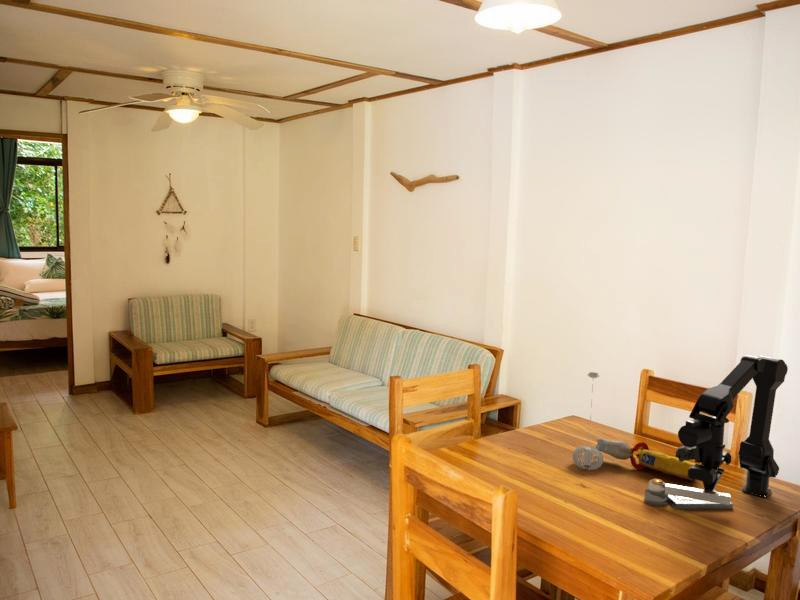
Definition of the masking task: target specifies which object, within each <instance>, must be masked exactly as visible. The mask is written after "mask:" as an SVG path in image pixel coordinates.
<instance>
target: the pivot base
mask: <svg viewBox="0 0 800 600" xmlns="http://www.w3.org/2000/svg"><path fill="white" fill-rule="evenodd" d="M643 501H644V502H645V503H646V504H647V505H649V506H653V507H659V508H663V507H667V506H668V504H669V502H668V494H664V495H656V494H652V493H650V492H649V491H648V488H646V489H645V490H644V499H643Z"/></svg>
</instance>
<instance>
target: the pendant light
mask: <svg viewBox="0 0 800 600" xmlns="http://www.w3.org/2000/svg"><path fill="white" fill-rule="evenodd" d="M587 377H589V378H592V380H594V379H597V378H600V375H599V373H597V372H593V371H592V372H589V373H588V374H587ZM593 386H594V385H592V388H591V389H592V390H591V392H594V389H593V388H594V387H593ZM592 403H593V400H591V403H590V404H591V405H590V407H592V406H593V404H592ZM591 418H592V415H590V417H589V422H591ZM590 432H591V429H589V432H588V433H589V434H588V437H590ZM571 456H572V457H571V458H572V461H573V463H574V464H575V466H576V467H578V468H579V469H582V470H588V471H589V470H590V471H593V470H594V471H595V470H597V469H599V468H601V467H602V465H603V464H604V456H603V452H602V451H599V450H598V449H596V448H595V447H594V446H590V444H588V446H587V445H581V446H578V447H575V449H574V450H573V452H572V455H571ZM592 460H593V461H592ZM587 466H589V467H587Z"/></svg>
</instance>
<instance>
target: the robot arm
mask: <svg viewBox="0 0 800 600" xmlns="http://www.w3.org/2000/svg"><path fill="white" fill-rule="evenodd" d="M788 368H789V367H788V364H787V363H786V362H785V361H784V360H783V359H781V358H775V357H771V356H764V355H758V356H755V355H748V354H746V355H743V356H742V357H741V358H740V361H739V363H738V364H737V365H736V366H735V367H734V368H733V369H732V370H731V371H730V373H729V374H727V375H726V377H724V379H723V380H722V381H721V382H720V383H719V384H718V385H716V386H712V387H709V388H708V389H706V390H705V391H703V392H702V393H701V394H700V395H699V396H698V397H697V399H696V402H695V403H694V406H693V408H692V409H691V412H690V414H689V416H688V417H689V418H690V420H688V419H687V420H686V421H685V425H683V426H680V428H679V430H678V431H677V437H678V440H679V442H680V443H681V444H682V446H681V445H680V446H679V447H678V448H677V449H675V454H674V455H675V456H674V457H676V458H678V459H679V461H680V462H683V461H694V463H695V464H694V465H693V466H692V467H690V468H689V469H688V476H687V477H688V478H691V479H694V480H697V481H699V482H702V484H703V490H709V491H713V490H715V488H716V487H717V484H718V483H719V481H720V479H721V477H722V476H723V474H724V473H725V469H724V468H720V466H721V465H722V464H724V463H725V465H726V466H727V465H728V466H729V465H730V464H731V463H732V455H731V454H730V453H729V452H728V451H725V450H724V449H725V447H726V443H725V442H724V437H725V424H727V423H729V422H730V420H729V418H727V416H728V415H729V414H730V413H731V411H732V409H733V408H734V405H735V404H734V400H735V398H736V397H737V396H738V395H739V394H740V393H741V391H742V390H744V388H745V387H746V386H747V385H748V384H749V383H750V382H751V381H752V380H753V383H754V384H755V388H756V389H755V395H754V401H753V407H752V415H751V421H750V429H749V435H748V436H747V438H746V439H745V440H744V441H743V440H742V441H741V442H740V443H739V450H738V461H739V467H740V469H744V470H747V471H746V479H745V480H746V481H745V485H744V486H743V487H742V489H741V492H742V491H744V492H743V493H746V492H748V493H747V494H749V493H753V494H757V495H761V496H764V495H765V496H766V497H767V496H769V495H770V494H771V493H772V489H770V488H769V485H770V478H776V477H777V476H778V474H779V471H780V467H779V465H778V463H777V461H776V459H774V454H775V453H774V451H775V450H774V447H773V445H772V444H771V441H770V435H771V434H770V433H771V432H770V431H771V427H772V420H773V414H774V407H775V406H774V405H775V399H776V394H777V390H778V388H780V386H781V385H782V384H783V383H784V382H785V379H786V376H787V373H788ZM770 492H771V493H770ZM769 493H770V494H769ZM753 494H752V495H753ZM768 494H769V495H768ZM757 495H756V496H757ZM761 496H760V497H761ZM767 498H768V497H767Z"/></svg>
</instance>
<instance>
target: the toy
mask: <svg viewBox="0 0 800 600" xmlns="http://www.w3.org/2000/svg"><path fill="white" fill-rule="evenodd" d="M596 442H597V444H596V445H595V447H594V448H596V449H598V450H599V451H600V452H601V453H604V454H607V455H609V456H611V457H612V458H614V459H616V460H621V461H623V460H624V461H626V460H628V459H630V463H631V466H632V467H633V468H634V469H635V470H637V471H641V470H643V469H644V468H645V467H646V468H650V469H651V470H656V471H659V472H662V473H666V474H667V475H672V476H676V477H678V478H681V479H686V480H687V479H688V480H689V481H691V482H692V481H694V480H693V479H691V478H688V477H687V476H688V469H689V468H690V467H692V466H693V465H694V464H696V462H691V461H690V460H685V461H683V462H680V461H679V459H678V458H677V457H676V456H669V455H667V454H665V453H663V452H660V451H658V450H655V449H650V447H649V446H648V445H647V443H646V442H645V441H641V442H637V443H635V445H634V446H633V448H631V445H630V444H628V443H627V442H625V441H623V440H620V441H617V440H608V439H604V438H599V437H598V438H597V439H596ZM639 450H640V453H636V455H634V453H635V452H638V451H639ZM636 458H637V459H638V463H637V460H636Z"/></svg>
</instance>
